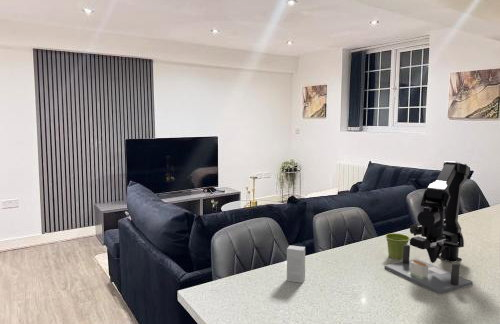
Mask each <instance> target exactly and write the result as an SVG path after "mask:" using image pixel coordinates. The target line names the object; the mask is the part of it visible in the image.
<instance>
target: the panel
mask: <svg viewBox="0 0 500 324" xmlns="http://www.w3.org/2000/svg"><path fill="white" fill-rule="evenodd" d="M414 259H415V260H418V261H420V262H422V263H425V264H426V265H428V276H427V277H423V278H421V277H419V276H417V275H414V274H412V273H410V270H411V262H413V260H414ZM384 269H385V270H387V271H389V272H391V273H393V274H395V275H397V276H399V277H402V278H404V279H405V280H408V281H410V282H412V283H414V284H416V285H418V286H420V287H422V288H423V289H424V288H425V289H426V290H428V291H431V292H433V293H435V294H437V295H442V294H445V293H449V292H453V291H455V290H461V289H463V288H466V287H470V286H473V285H474V281H472V280H471V279H468V278H466V277H462V276H461V275H459V284H458V285H452V284H451V271H448V270H445V269H443V268H441V267H438V266H436V265H433V264H431V263H429V262H426V261H424V260H421V259H419V258H412V259H409V264H404V263H403V260H402V261H399V262H394V263H391V264H390V263H389V264H386V265H384Z"/></svg>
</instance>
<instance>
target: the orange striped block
mask: <svg viewBox="0 0 500 324" xmlns="http://www.w3.org/2000/svg"><path fill="white" fill-rule="evenodd" d="M413 259H414V260H413V262H411V270H410V273H412V274H414V275H417V276H419V277H421V278H423V277H427V276H428V265H426V264H425V263H422V262H420V261H418V260H415V259H416V258H413Z"/></svg>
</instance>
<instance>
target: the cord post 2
mask: <svg viewBox="0 0 500 324" xmlns="http://www.w3.org/2000/svg"><path fill="white" fill-rule="evenodd" d="M460 267H461V264H460V263H457V262H451V271H450V272H451V284H452V285H458V284H459V276H460Z"/></svg>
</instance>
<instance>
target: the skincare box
mask: <svg viewBox="0 0 500 324" xmlns="http://www.w3.org/2000/svg"><path fill="white" fill-rule="evenodd" d="M305 280H306V246H301V245H300V246H299V245H298V246H297V245H288V247H287V248H286V281H287V282H290V283H299V284H304V281H305Z"/></svg>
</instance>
